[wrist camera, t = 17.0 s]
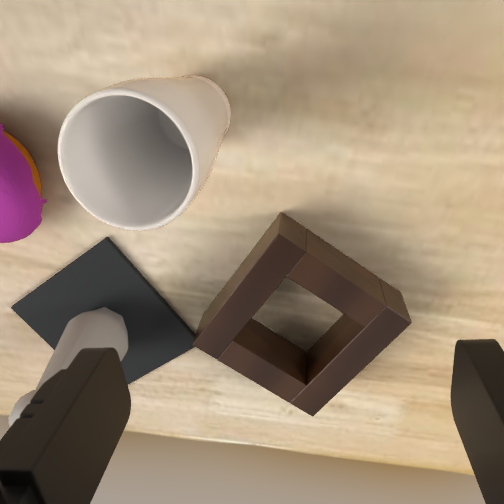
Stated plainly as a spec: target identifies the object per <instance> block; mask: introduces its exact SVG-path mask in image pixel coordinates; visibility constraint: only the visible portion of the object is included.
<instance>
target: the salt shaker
mask: <svg viewBox="0 0 504 504" xmlns="http://www.w3.org/2000/svg"><path fill="white" fill-rule="evenodd" d="M105 347H113V348H115V349H116V350H117V352H118V355H119V358H120V361H122V359H123V358H124V356H125V354H126V353H127V350H128V332H127V329H126V326H125V323H124V320H123V317H122V316H121V315H119V314H117V313H115V312H113V311H111V310H110V309H108V308H106V307H103V308H99V309H96V310H92V311H88V312H83V313H81V314H79V315H78V316H76V317H74V318H73V319H71V320H70V321H69V322H68V324H67V326H66V328H65V330H64V332H63V334H62V336H61V338H60V340H59V342H58V345H57V347H56V349H55V351H54V353H53V355H52V357H51V359H50V361H49V363H48V365H47V367H46V369H45V371H44V373H43V375H42V378H41V380H40V382H39V384H38V386H37V388H36V390H33V391H31V392H29V393H27V394H25V395H24V396H22V397H21V398H20V399H19V400H18V401H17V402H16V404H15V405H14V407H13V409H12V411H11V414H10V416H9V419H8V421H9V425H10V427H11V426H12V424H13V423H14V422H15V420H16V419H17V418H19V417H20V414H21V412H22V411H23V410H24V408H25V407H26V406H27V404H30V400H31V399H32V398H33V396H34V395H35V393H36V392H37V391H38V389H39V388H40V387H41V385H42V384H43V383H44V382H46V381H47V380H48V379H50V378H51V377H52V376H53V375H55V374H56V373H57V372H58V371H60V370H61V369H67V368H68V366H69V365H70V364H71V362H72V361H73V359H74V358H75V357H76V355H77V354H78V352H79V351H80V350H81V349H83V348H105Z"/></svg>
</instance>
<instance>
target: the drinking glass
mask: <svg viewBox="0 0 504 504" xmlns="http://www.w3.org/2000/svg"><path fill="white" fill-rule="evenodd" d="M230 121H231V110H230V105H229V102H228V99H227V97H226V95H225V93H224V92H223V90H222V89H221V88H220V87H219V86H218V85H217V84H216V83H214V82H213V81H211V80H210V79H208V78H205V77H202V76H198V75H187V76H183V77H155V78H140V79H133V80H128V81H124V82H121V83H117V84H114V85H111V86H109V87H107V88H104V89H102V90H99V91H97V92H95V93H92V94H90V95H88V96H87V97H85V98H83V99H82V100H81V101H79V102H78V103H77V104H76V105H75V106H74V107H73V108H72V109H71V111H70V112H69V113H68V115H67V116H66V118H65V120H64V122H63V124H62V127H61V130H60V134H59V139H58V160H59V166H60V170H61V173H62V176H63V178H64V181H65V183H66V185H67V187H68V189H69V190H70V192H71V193H72V195H73V196H74V198H75V199H76V200H77V201H78V202H79V204H80V205H81V206H82V207H83V208H84V209H85V210H87V211H88V212H89V213H90V214H91V215H93V216H94V217H96V218H97V219H99V220H101V221H102V222H104V223H106V224H109V225H111V226H114V227H117V228H120V229H125V230H132V231H145V230H152V229H156V228H159V227H162V226H164V225H166V224H168V223H170V222H172V221H173V220H175V219H176V218H177V217H178V216H180V215H181V214H182V213H183V212H184V211H185V209H186V208H187V207H188V206H189V205H190V203H191V202H192V201H193V200H194V199H195V197H196V196H197V195H198V193H199V192H200V191H201V189H202V188H203V186H204V184H205V183H206V181H207V179H208V177H209V175H210V173H211V171H212V169H213V166H214V163H215V161H216V158H217V155H218V152H219V149H220V146H221V143H222V140H223V138H224V136H225V135H226V133H227V131H228V129H229V125H230Z"/></svg>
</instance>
